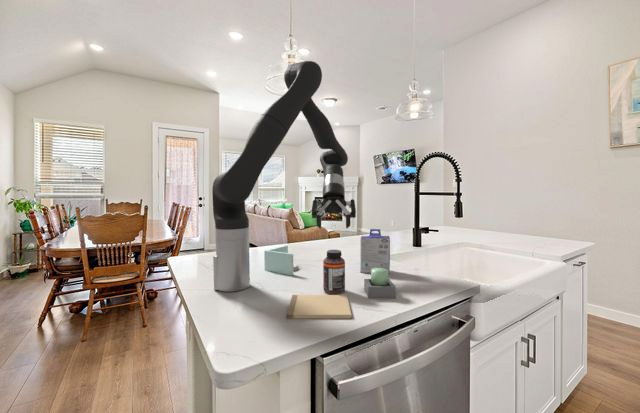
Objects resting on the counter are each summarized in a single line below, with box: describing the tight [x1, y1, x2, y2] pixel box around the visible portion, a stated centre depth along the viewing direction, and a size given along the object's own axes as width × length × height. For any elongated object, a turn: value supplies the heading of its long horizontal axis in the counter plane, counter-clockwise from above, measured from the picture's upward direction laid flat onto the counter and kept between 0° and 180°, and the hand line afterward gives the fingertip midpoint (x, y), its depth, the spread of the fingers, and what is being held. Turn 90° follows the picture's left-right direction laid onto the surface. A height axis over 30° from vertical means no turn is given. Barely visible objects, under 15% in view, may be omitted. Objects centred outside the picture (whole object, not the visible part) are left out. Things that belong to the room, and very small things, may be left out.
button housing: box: [363, 278, 397, 300], centre depth 77 cm, size 7×7×3 cm
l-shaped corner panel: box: [263, 245, 299, 276], centre depth 103 cm, size 12×12×8 cm
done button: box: [370, 268, 389, 285], centre depth 77 cm, size 4×4×4 cm
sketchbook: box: [286, 294, 352, 319], centre depth 68 cm, size 14×12×1 cm
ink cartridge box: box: [360, 228, 391, 275], centre depth 99 cm, size 10×6×14 cm, turn 78°
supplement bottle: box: [322, 249, 346, 295], centre depth 79 cm, size 6×6×11 cm
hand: (333, 226), depth 89 cm, fingers open, 8 cm apart
